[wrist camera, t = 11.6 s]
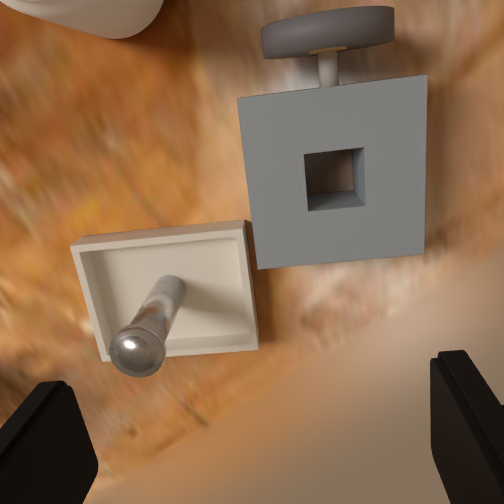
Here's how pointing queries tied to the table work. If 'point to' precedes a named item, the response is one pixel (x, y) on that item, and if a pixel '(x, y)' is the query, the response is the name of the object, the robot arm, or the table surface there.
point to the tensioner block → (335, 138)
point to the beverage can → (94, 14)
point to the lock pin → (148, 330)
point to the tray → (182, 266)
